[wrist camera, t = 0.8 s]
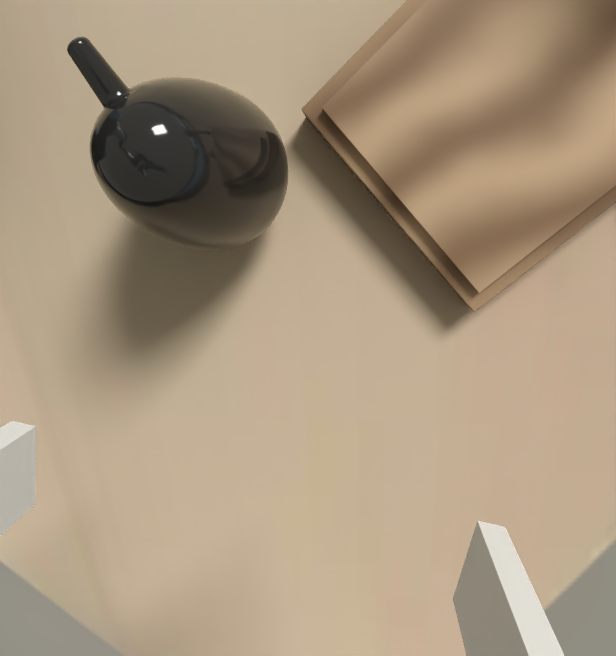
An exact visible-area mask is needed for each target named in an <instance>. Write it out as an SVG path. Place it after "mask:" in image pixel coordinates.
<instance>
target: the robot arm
mask: <svg viewBox="0 0 616 656" xmlns="http://www.w3.org/2000/svg"><path fill="white" fill-rule="evenodd" d="M35 475H36V426H33V425H28V424H24V423H19V422H14V421H11V422H9V423H8V424H6V425H4V426H3V427H1V428H0V536H1V535H2V534H3V533H4V532H6V531H7V530H8V529H9V528H10V527H11V526H12V525H13V524H14V523H15V522H17V521H18V520H19V519H20V518H21V517H22V516H23V515H24V514H25V513H26V512H28V511H29V510H30V509H31V508H32V507H33V506H34V505H35ZM453 601H454V606H455V610H456V614H457V618H458V622H459V626H460V630H461V635H462V639H463V643H464V647H465V651H466V655H467V656H564V654H563V652H562V649H561V647H560V645H559V643H558V641H557V639H556V636H555V634H554V632H553V630H552V628H551V626H550V623H549V621H548V619H547V617H546V615H545V612H544V610H543V608H542V606H541V604H540V602H539V599H538V597H537V595H536V593H535V591H534V589H533V586H532V584H531V582H530V580H529V578H528V576H527V573H526V571H525V569H524V567H523V565H522V563H521V560H520V558H519V556H518V554H517V552H516V550H515V547H514V545H513V543H512V541H511V539H510V536H509V534H508V532H507V530H506V528H505V527H504V526H499V525H494V524H490V523H485V522H480V521H477V524H476V527H475V531H474V534H473V537H472V540H471V543H470V546H469V549H468V553H467V556H466V559H465V562H464V565H463V568H462V572H461V575H460V578H459V581H458V584H457V587H456V590H455V594H454V597H453Z"/></svg>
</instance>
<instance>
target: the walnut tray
mask: <svg viewBox="0 0 616 656" xmlns="http://www.w3.org/2000/svg"><path fill="white" fill-rule="evenodd" d="M302 111H303V113H304V114H305V116H306V117H307V119H308V120H309V121H310V122H311V123H312V124H313V126H314V127H315V128H316V129H317V130H318V131H319V133H320V134H321V135H322V136H323V137H324V138H325V140H326V141H327V142H328V143H329V144H330V145H331V147H332V148H333V149H334V150H335V151H336V153H337V154H338V155H339V156H340V157H341V158H342V160H343V161H344V162H345V163H346V164H347V165H348V167H349V168H350V169H351V170H352V171H353V172H354V174H355V175H356V176H357V177H358V178H359V179H360V181H361V182H362V183H363V184H364V185H365V186H366V188H367V189H368V190H369V191H370V192H371V193H372V195H373V196H374V197H375V198H376V199H377V200H378V202H379V203H380V204H381V205H382V206H383V207H384V209H385V210H386V211H387V212H388V213H389V214H390V216H391V217H392V218H393V219H394V220H395V221H396V223H397V224H398V225H399V226H400V227H401V229H402V230H403V231H404V232H405V233H406V234H407V236H408V237H409V238H410V239H411V240H412V241H413V243H414V244H415V245H416V246H417V247H418V248H419V250H420V251H421V252H422V253H423V254H424V255H425V257H426V258H427V259H428V260H429V261H430V262H431V264H432V265H433V266H434V267H435V268H436V269H437V271H438V272H439V273H440V274H441V275H442V276H443V278H444V279H445V280H446V281H447V282H448V283H449V285H450V286H451V287H452V288H453V289H454V290H455V292H456V293H457V294H458V295H459V296H460V297H461V299H462V300H463V301H464V302H465V303H466V305H467V306H469V307H470V308H471V309H472V310H473V311H474V312H475V311H476V310H477V309H479V308H480V307H481V306H482V305H484V304H485V303H486V302H488V301H489V300H490V299H491V298H493V297H494V296H495V295H497V294H498V293H499V292H500V291H502V290H503V289H504V288H506V287H507V286H508V285H509V284H511V283H512V282H513V281H515V280H516V279H517V278H518V277H520V276H521V275H522V274H524V273H525V272H526V271H527V270H529V269H530V268H531V267H533V266H534V265H535V264H536V263H538V262H539V261H540V260H542V259H543V258H544V257H545V256H547V255H548V254H549V253H551V252H552V251H553V250H554V249H556V248H557V247H558V246H560V245H561V244H562V243H563V242H565V241H566V240H567V239H569V238H570V237H571V236H572V235H574V234H575V233H576V232H578V231H579V230H580V229H581V228H583V227H584V226H585V225H587V224H588V223H589V222H590V221H592V220H593V219H594V218H596V217H597V216H598V215H599V214H601V213H602V212H603V211H605V210H606V209H607V208H608V207H610V206H611V205H612V204H614V203H615V202H616V0H407V1H406V2H405V3H404V4H403V5H402V6H401V7H400V8H399V9H398V10H397V11H396V12H395V13H394V14H393V15H392V16H391V17H390V18H389V19H388V20H387V21H386V23H385V24H384V25H383V26H382V27H381V28H380V29H379V30H378V31H377V32H376V33H375V34H374V35H373V36H372V37H371V38H370V39H369V40H368V41H367V42H366V43H365V44H364V45H363V46H362V47H361V48H360V49H359V50H358V51H357V52H356V53H355V54H354V55H353V56H352V58H351V59H350V60H349V61H348V62H347V63H346V64H345V65H344V66H343V67H342V68H341V69H340V70H339V71H338V72H337V73H336V74H335V75H334V76H333V77H332V78H331V79H330V80H329V81H328V82H327V83H326V84H325V85H324V86H323V87H322V88H321V89H320V90H319V91H318V92H317V94H316V95H315V96H314V97H313V98H312V99H311V100H310V101H309V102H308V103H307V104H306V105H305V106H304V107H303V108H302Z"/></svg>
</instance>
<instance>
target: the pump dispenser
mask: <svg viewBox="0 0 616 656" xmlns="http://www.w3.org/2000/svg"><path fill="white" fill-rule="evenodd" d="M67 51H68V53H69V55H70V57H71V58H72V60H73V61H74V63H75V64H76V66H77V67H78V69H79V70H80V72H81V73H82V75H83V76H84V78H85V79H86V81H87V82H88V84H89V85H90V87H91V88H92V90H93V91H94V93H95V94H96V96H97V97H98V99H99V100H100V102H101V104H102V105H103V107H104V110H103V111H102V112H101V114H100V115H99V116H98V118H97V120H96V122H95V124H94V127H93V130H92V133H91V137H90V157H91V163H92V167H93V170H94V173H95V176H96V178H97V180H98V182H99V184H100V186H101V188H102V190H103V191H104V193H105V194H106V196H107V197H108V198H109V200H110V201H111V202H112V203H113V204H114V205H115V206H116V207H117V209H118V210H119V211H121V212H122V213H123V214H124V215H125V216H126V217H127V218H129V219H130V220H131V221H132V222H134V223H135V224H137V225H138V226H140V227H141V228H143V229H144V230H146V231H147V232H149V233H151V234H153V235H154V236H156V237H158V238H160V239H162V240H165V241H167V242H169V243H172V244H175V245H178V246H182V247H185V248H190V249H195V250H202V251H222V250H228V249H233V248H236V247H239V246H242V245H244V244H246V243H248V242H250V241H252V240H253V239H255V238H256V237H258V236H259V235H260V234H261V233H263V232H264V231H265V230H266V229H267V228H268V227H269V225H270V224H271V223H272V222H273V220H274V219H275V217H276V216H277V214H278V212H279V210H280V208H281V206H282V203H283V201H284V198H285V194H286V190H287V184H288V162H287V156H286V152H285V148H284V145H283V142H282V140H281V137H280V135H279V133H278V131H277V129H276V128H275V126H274V125H273V123H272V122H271V120H270V119H269V118H268V117H267V115H266V114H265V113H264V112H263V111H262V110H261V109H260V108H259V107H258V106H256V105H255V104H254V103H253V102H251V101H250V100H249V99H247V98H246V97H244V96H242V95H241V94H239V93H237V92H235V91H233V90H230V89H228V88H226V87H223V86H220V85H217V84H214V83H211V82H207V81H203V80H198V79H192V78H162V79H155V80H151V81H147V82H143V83H141V84H138V85H136V86H134V87H132V88H130V89H129V88H128V87H127V86H126V85H125V84H124V83H123V82H122V80H121V79H120V78H119V77H118V75H117V74H116V73H115V72H114V70H113V69H112V68H111V67H110V66H109V64H108V63H107V62H106V61H105V59H104V58H103V57H102V56H101V54H100V53H99V52H98V51H97V49H96V48H95V47H94V46H93V45H92V43H91V42H90V41H89V40H88V39H87V38H85V37H78V38H75V39H74V40H72V41H71V42H70V43H69V45H68V47H67Z"/></svg>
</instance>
